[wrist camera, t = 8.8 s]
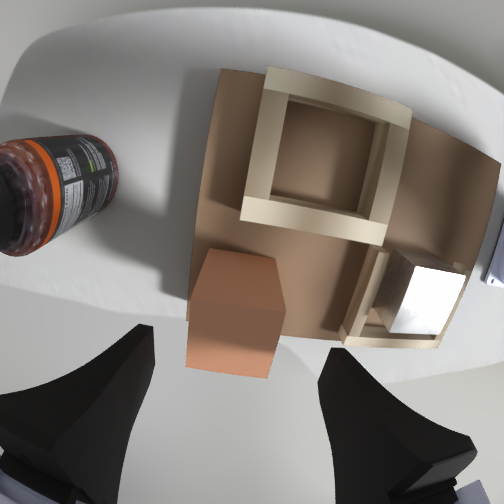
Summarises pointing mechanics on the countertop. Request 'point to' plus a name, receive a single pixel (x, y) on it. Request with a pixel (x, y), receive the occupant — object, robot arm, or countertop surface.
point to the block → (417, 293)
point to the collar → (378, 169)
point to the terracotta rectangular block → (235, 314)
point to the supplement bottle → (51, 188)
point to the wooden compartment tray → (344, 197)
